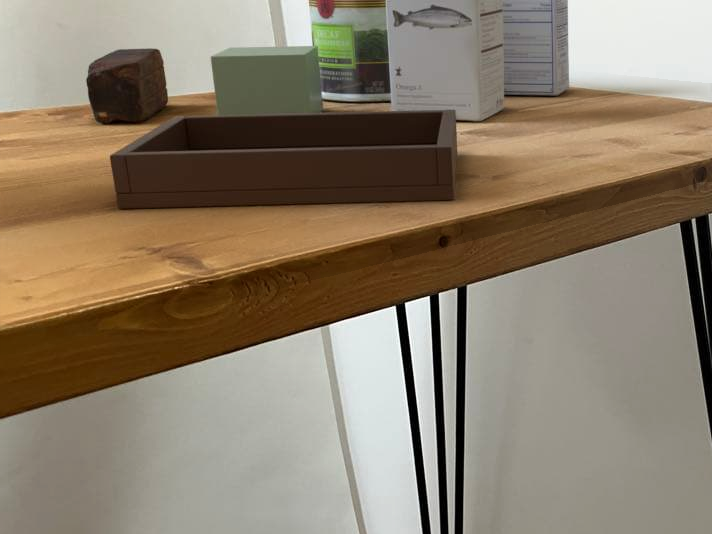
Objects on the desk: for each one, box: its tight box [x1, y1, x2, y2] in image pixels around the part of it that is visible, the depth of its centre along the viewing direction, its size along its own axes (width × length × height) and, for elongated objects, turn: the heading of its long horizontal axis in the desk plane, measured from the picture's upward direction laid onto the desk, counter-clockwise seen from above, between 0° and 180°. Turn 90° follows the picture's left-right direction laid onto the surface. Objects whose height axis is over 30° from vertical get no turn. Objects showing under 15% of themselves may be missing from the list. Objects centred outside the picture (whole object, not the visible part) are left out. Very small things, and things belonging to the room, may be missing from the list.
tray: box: [109, 110, 458, 210], centre depth 64 cm, size 18×14×3 cm
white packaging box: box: [386, 0, 505, 122], centre depth 85 cm, size 7×7×13 cm
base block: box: [210, 45, 324, 115], centre depth 87 cm, size 7×7×5 cm
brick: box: [85, 48, 169, 124], centre depth 89 cm, size 11×4×5 cm, turn 7°
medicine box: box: [503, 0, 570, 97], centre depth 97 cm, size 8×4×9 cm, turn 74°
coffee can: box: [308, 0, 391, 103], centre depth 96 cm, size 10×10×14 cm
